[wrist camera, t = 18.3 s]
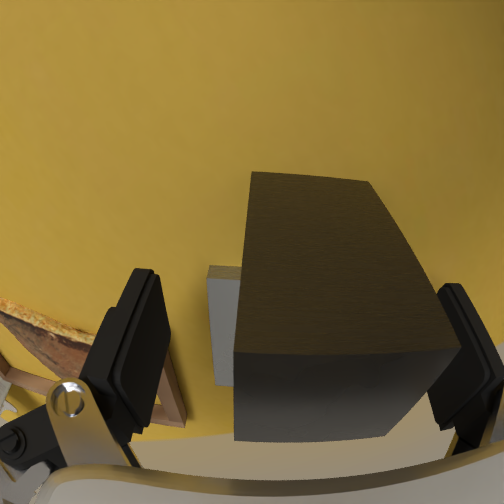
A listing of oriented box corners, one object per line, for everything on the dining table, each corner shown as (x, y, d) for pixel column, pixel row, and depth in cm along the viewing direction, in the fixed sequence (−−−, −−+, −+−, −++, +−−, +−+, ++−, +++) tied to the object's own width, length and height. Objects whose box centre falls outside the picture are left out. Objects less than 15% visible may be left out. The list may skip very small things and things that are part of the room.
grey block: (206, 169, 10) (136, 341, 5) (406, 186, 10) (511, 340, 4) (216, 373, 17) (203, 487, 12) (336, 377, 17) (348, 488, 12)
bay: (160, 318, 15) (154, 337, 14) (187, 414, 21) (184, 428, 20) (-51, 281, 15) (-59, 291, 14) (8, 370, 21) (3, 380, 20)
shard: (-10, 285, 15) (-24, 303, 14) (42, 243, 13) (23, 266, 11) (92, 383, 21) (85, 402, 19) (164, 372, 18) (159, 396, 17)
